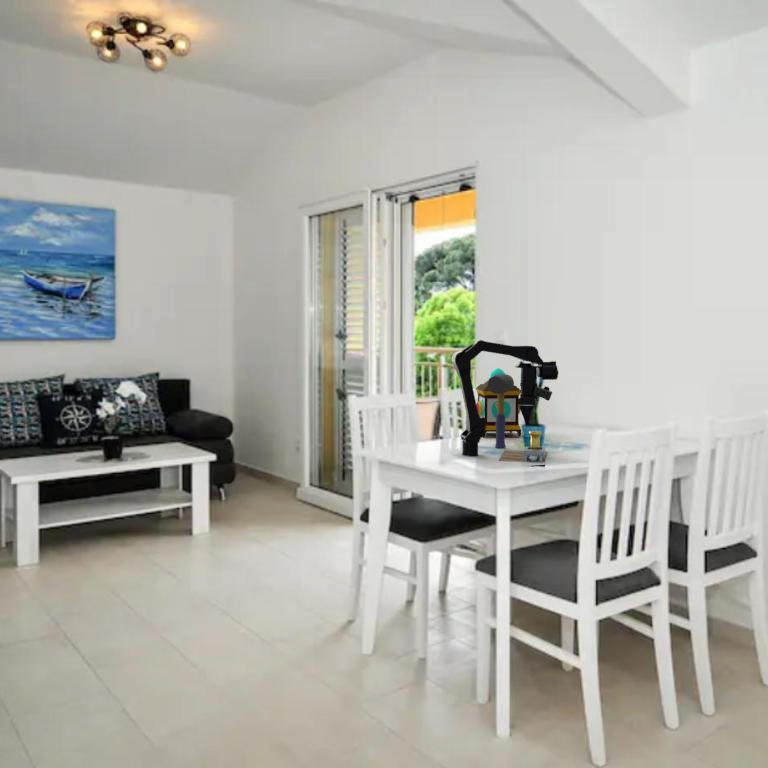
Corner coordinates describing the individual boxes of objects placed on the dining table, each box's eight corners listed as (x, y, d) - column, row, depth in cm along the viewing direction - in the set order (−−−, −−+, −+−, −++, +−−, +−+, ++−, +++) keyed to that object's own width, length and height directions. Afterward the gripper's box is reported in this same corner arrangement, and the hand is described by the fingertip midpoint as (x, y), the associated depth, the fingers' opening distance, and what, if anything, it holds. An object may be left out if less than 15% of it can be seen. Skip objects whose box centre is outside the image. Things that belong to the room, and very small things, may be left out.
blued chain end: (525, 454, 282) (525, 446, 282) (545, 455, 281) (545, 447, 280) (522, 461, 267) (522, 453, 267) (543, 462, 266) (543, 453, 266)
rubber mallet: (504, 454, 292) (504, 375, 290) (485, 453, 296) (485, 374, 294) (514, 449, 303) (515, 373, 301) (496, 448, 307) (497, 373, 305)
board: (504, 454, 293) (504, 450, 293) (547, 455, 289) (547, 451, 289) (497, 465, 270) (498, 460, 269) (544, 466, 266) (544, 462, 266)
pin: (526, 455, 280) (526, 431, 279) (537, 455, 281) (537, 430, 280) (532, 457, 275) (532, 432, 275) (543, 457, 277) (544, 432, 276)
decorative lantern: (514, 432, 356) (514, 367, 354) (525, 438, 337) (526, 369, 334) (471, 432, 355) (471, 367, 353) (479, 438, 335) (480, 369, 333)
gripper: (550, 382, 272) (549, 426, 273) (552, 378, 290) (551, 420, 292) (518, 381, 275) (517, 425, 276) (521, 378, 293) (521, 419, 294)
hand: (528, 422), depth 284 cm, fingers open, 9 cm apart
